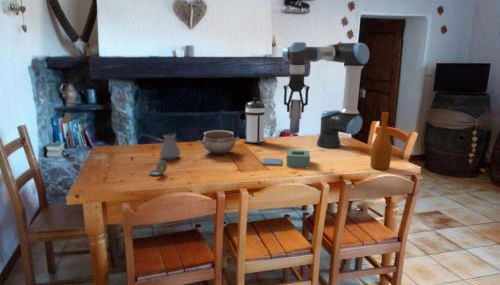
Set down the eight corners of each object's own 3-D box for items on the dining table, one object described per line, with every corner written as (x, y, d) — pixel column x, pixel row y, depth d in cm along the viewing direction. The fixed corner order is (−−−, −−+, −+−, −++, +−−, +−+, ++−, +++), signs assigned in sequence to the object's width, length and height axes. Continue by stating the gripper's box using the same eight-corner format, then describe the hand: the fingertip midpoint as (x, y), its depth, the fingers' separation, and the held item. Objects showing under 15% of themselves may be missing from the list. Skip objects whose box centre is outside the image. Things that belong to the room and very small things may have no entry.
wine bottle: (390, 171, 187) (397, 113, 180) (370, 170, 189) (376, 112, 182) (387, 165, 196) (393, 110, 189) (368, 164, 198) (374, 109, 191)
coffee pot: (178, 154, 213) (178, 129, 209) (182, 159, 202) (181, 133, 199) (140, 157, 206) (139, 131, 202) (142, 162, 195) (140, 135, 192)
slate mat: (281, 160, 203) (281, 158, 203) (280, 165, 194) (280, 164, 193) (263, 159, 204) (263, 158, 204) (262, 164, 195) (262, 163, 194)
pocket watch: (150, 171, 181) (149, 152, 179) (168, 171, 182) (167, 152, 179) (147, 177, 173) (146, 157, 171) (165, 177, 174) (164, 157, 171)
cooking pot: (201, 159, 203) (201, 138, 200) (194, 151, 220) (194, 131, 217) (244, 155, 211) (244, 135, 208) (234, 148, 229) (234, 129, 226)
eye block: (308, 161, 203) (308, 150, 201) (309, 167, 191) (310, 156, 190) (286, 160, 204) (287, 149, 203) (286, 166, 192) (286, 155, 191)
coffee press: (260, 139, 253) (261, 96, 246) (268, 144, 238) (270, 98, 231) (236, 140, 248) (236, 96, 241) (243, 146, 233) (244, 99, 226)
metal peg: (298, 131, 196) (300, 99, 192) (299, 133, 191) (300, 100, 187) (289, 130, 196) (290, 99, 192) (289, 132, 191) (291, 100, 187)
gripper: (279, 73, 183) (277, 119, 189) (315, 74, 182) (312, 120, 187) (279, 72, 191) (277, 116, 196) (314, 73, 189) (311, 117, 195)
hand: (294, 118), depth 192 cm, fingers closed on metal peg, 5 cm apart
